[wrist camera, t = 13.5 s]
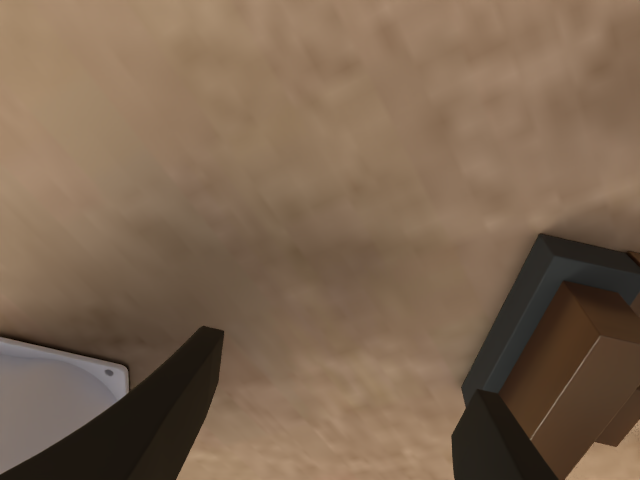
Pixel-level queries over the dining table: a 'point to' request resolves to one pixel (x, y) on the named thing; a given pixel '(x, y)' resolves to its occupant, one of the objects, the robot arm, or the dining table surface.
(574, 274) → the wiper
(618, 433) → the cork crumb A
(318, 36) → the dining table surface
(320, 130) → the dining table surface
